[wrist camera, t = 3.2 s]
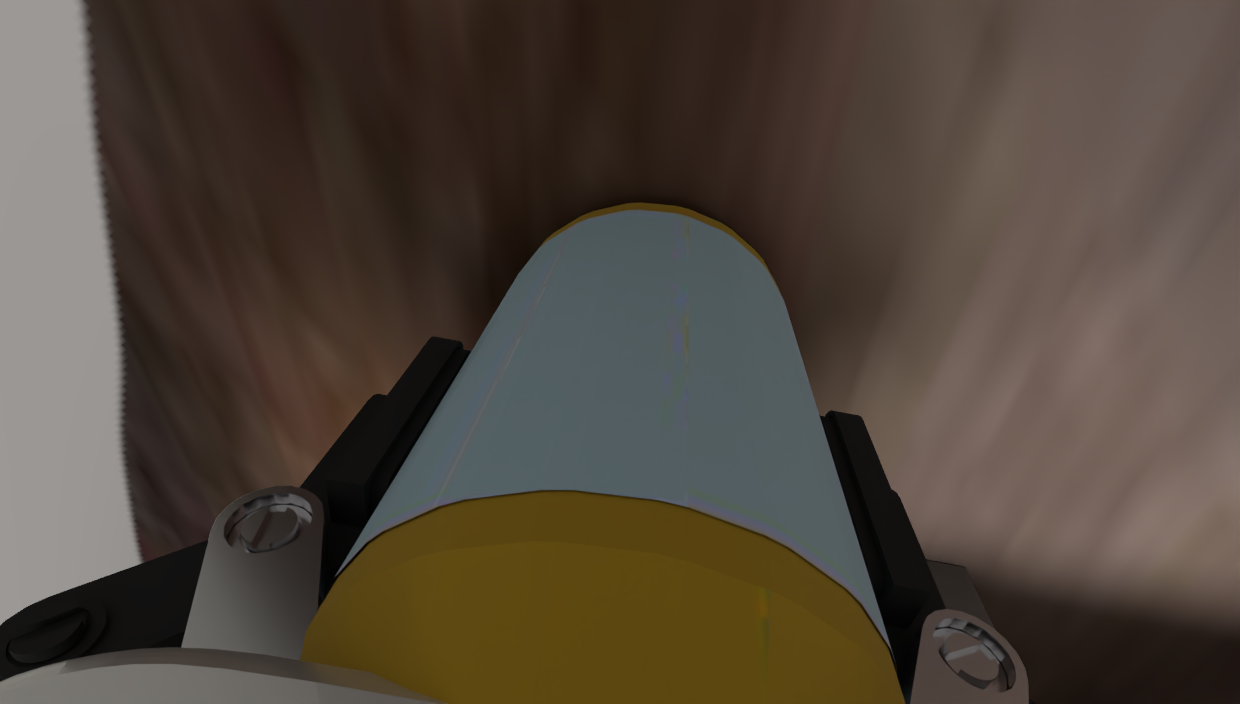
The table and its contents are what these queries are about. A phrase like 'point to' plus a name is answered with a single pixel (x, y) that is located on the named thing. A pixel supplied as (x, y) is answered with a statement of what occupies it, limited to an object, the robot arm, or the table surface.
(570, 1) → the table surface
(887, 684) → the bottle
